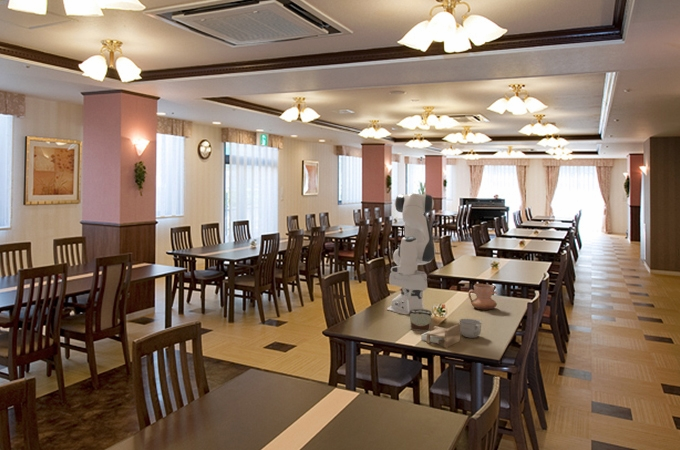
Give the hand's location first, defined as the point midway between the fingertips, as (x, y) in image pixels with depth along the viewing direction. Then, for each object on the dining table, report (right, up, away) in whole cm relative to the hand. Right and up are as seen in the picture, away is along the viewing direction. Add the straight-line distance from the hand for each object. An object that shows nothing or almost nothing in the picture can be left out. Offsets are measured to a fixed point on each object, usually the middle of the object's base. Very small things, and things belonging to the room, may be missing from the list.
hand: (407, 296), depth 258 cm
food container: (+9, -19, +12) cm, 24 cm away
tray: (+14, -21, -8) cm, 26 cm away
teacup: (+31, -20, -3) cm, 37 cm away
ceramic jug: (+54, -16, +58) cm, 81 cm away
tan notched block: (+14, -20, -9) cm, 27 cm away
